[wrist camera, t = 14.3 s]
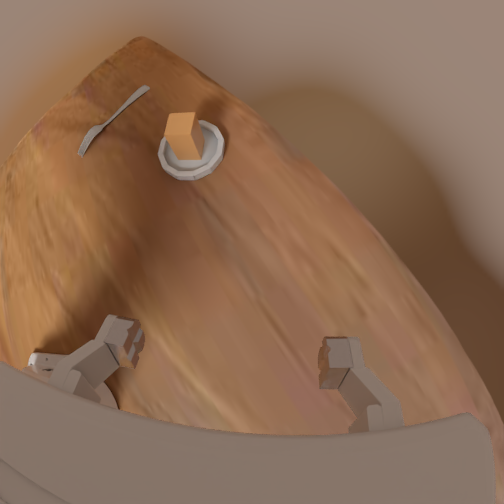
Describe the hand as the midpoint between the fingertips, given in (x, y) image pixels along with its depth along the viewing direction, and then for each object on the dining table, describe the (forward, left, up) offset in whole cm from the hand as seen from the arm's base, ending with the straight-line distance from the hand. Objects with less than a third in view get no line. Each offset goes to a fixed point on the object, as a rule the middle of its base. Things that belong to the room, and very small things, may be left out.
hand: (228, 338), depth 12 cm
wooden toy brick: (-12, +25, -29) cm, 40 cm away
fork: (-31, +34, -30) cm, 55 cm away
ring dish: (-12, +25, -29) cm, 41 cm away
